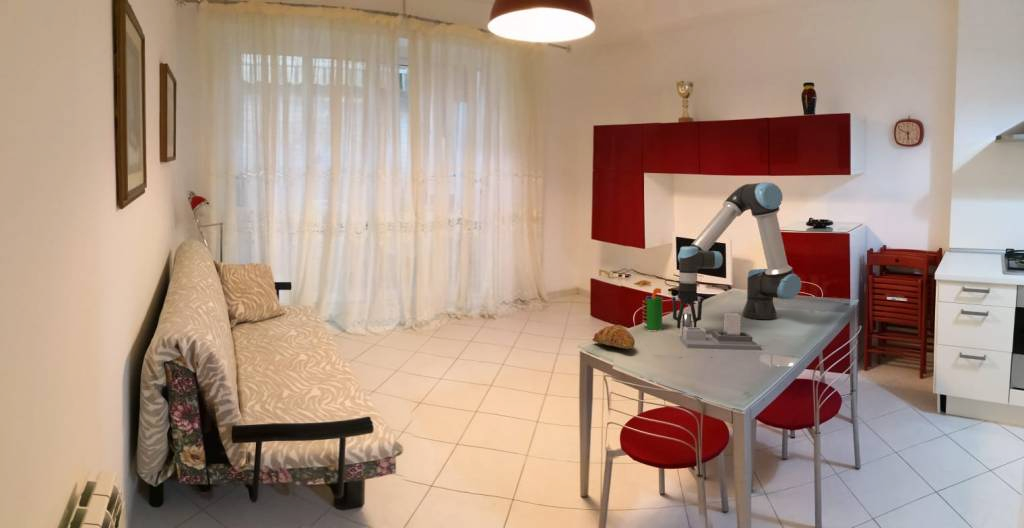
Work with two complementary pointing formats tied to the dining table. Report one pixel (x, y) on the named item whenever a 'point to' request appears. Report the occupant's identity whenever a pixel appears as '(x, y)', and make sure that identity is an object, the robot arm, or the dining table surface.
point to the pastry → (615, 337)
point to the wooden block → (732, 324)
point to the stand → (716, 340)
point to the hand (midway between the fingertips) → (686, 336)
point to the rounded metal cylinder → (686, 320)
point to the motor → (653, 311)
